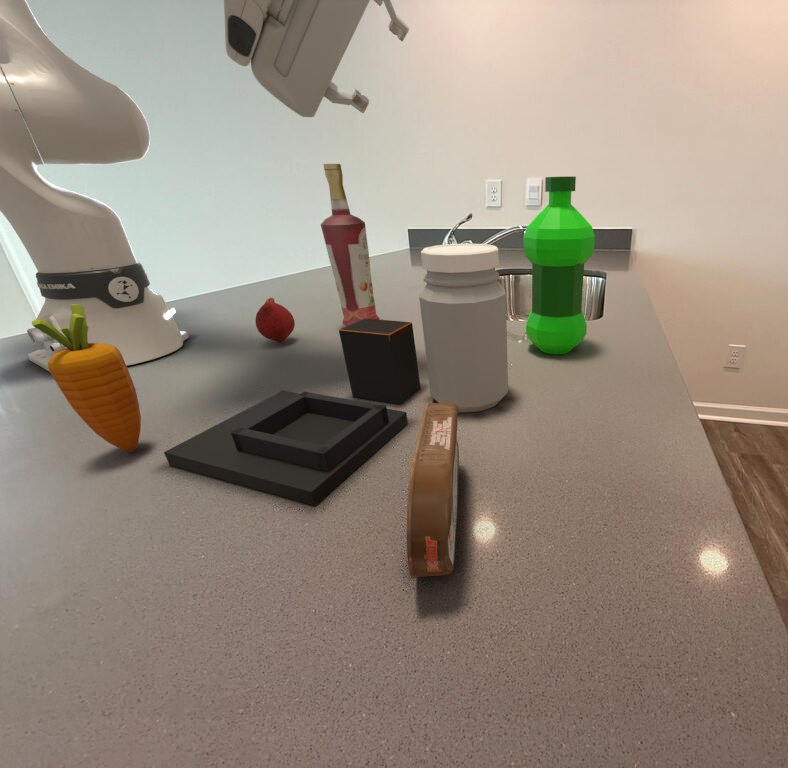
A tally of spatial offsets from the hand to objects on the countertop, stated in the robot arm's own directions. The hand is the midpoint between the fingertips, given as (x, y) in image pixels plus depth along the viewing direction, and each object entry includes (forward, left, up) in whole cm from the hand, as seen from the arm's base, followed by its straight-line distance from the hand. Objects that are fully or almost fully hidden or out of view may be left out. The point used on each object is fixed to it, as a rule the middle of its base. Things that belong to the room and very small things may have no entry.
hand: (385, 72), depth 50 cm
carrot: (-14, -34, -37) cm, 52 cm away
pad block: (+3, -14, -37) cm, 40 cm away
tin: (+21, -32, -37) cm, 53 cm away
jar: (+14, -12, -37) cm, 42 cm away
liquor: (-19, +9, -37) cm, 43 cm away
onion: (-27, -3, -37) cm, 46 cm away
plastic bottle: (+20, +8, -37) cm, 43 cm away
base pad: (+1, -27, -37) cm, 46 cm away
